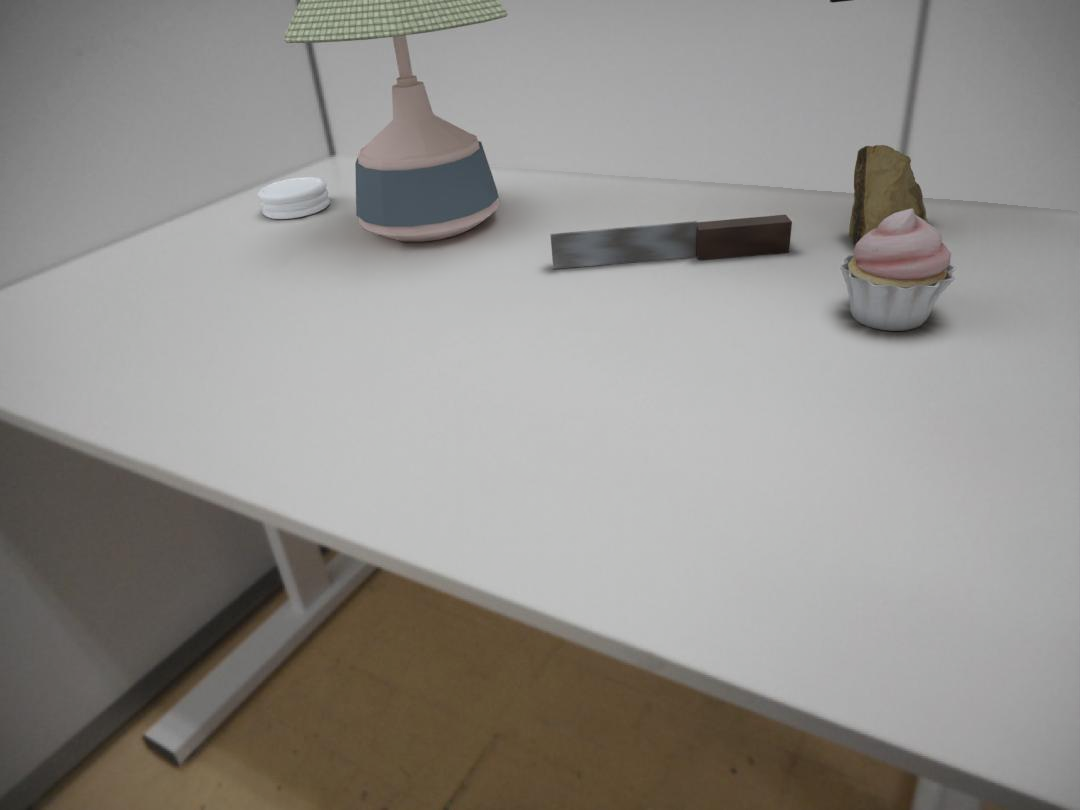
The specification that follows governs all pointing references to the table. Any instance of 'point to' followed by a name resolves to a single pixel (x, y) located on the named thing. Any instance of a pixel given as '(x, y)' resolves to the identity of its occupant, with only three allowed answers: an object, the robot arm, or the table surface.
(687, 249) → the knife
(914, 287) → the cupcake
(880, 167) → the rock
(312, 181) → the white layered round disc
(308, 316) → the table surface
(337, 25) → the desk lamp
